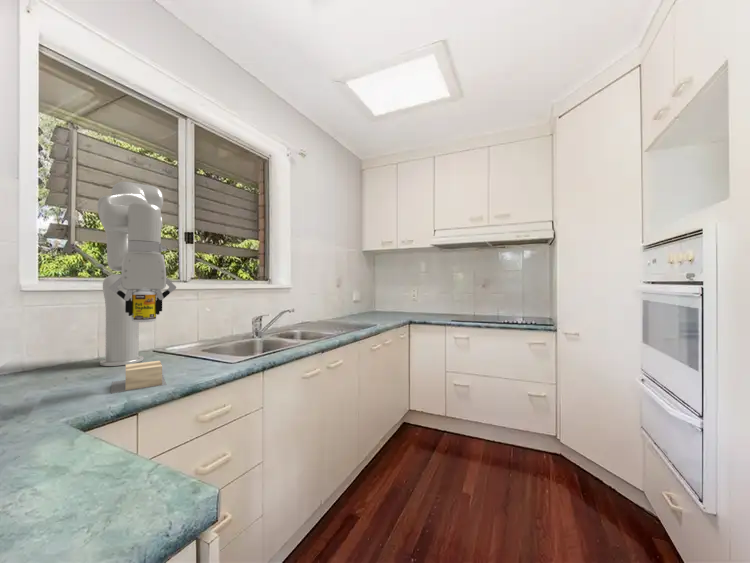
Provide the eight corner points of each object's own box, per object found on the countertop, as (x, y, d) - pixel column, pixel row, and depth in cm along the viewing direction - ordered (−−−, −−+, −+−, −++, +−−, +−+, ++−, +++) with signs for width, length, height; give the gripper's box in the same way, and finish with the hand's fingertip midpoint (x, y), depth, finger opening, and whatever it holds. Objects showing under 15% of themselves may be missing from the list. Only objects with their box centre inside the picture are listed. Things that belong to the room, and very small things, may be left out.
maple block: (125, 382, 93) (125, 364, 93) (159, 377, 98) (159, 360, 98) (125, 390, 87) (125, 370, 87) (162, 384, 92) (162, 366, 92)
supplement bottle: (131, 323, 89) (131, 284, 89) (132, 321, 93) (132, 284, 93) (156, 321, 92) (156, 284, 92) (156, 320, 96) (156, 284, 96)
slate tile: (112, 385, 94) (112, 381, 94) (162, 378, 101) (162, 374, 101) (110, 397, 84) (110, 393, 84) (166, 388, 91) (166, 384, 91)
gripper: (178, 251, 101) (178, 312, 101) (105, 248, 90) (104, 315, 90) (182, 250, 95) (181, 314, 95) (103, 245, 84) (103, 317, 84)
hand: (144, 314), depth 92 cm, fingers closed on supplement bottle, 5 cm apart
